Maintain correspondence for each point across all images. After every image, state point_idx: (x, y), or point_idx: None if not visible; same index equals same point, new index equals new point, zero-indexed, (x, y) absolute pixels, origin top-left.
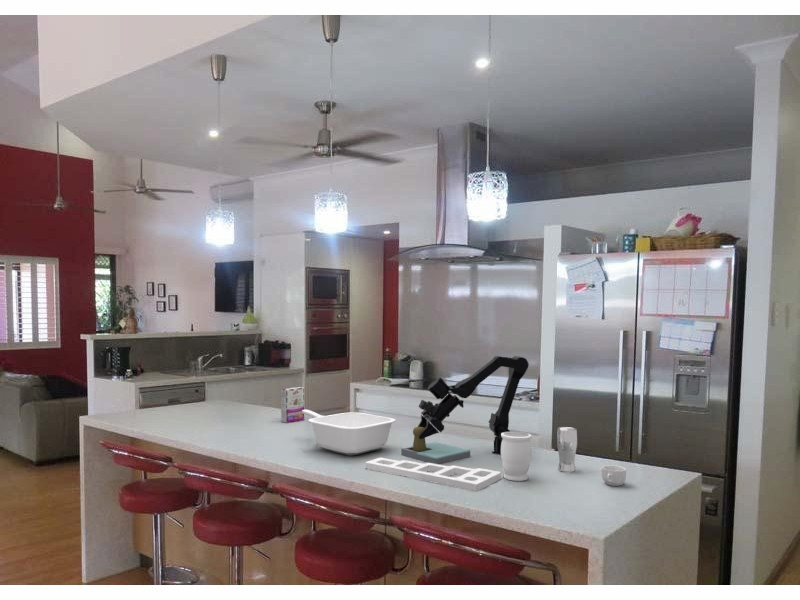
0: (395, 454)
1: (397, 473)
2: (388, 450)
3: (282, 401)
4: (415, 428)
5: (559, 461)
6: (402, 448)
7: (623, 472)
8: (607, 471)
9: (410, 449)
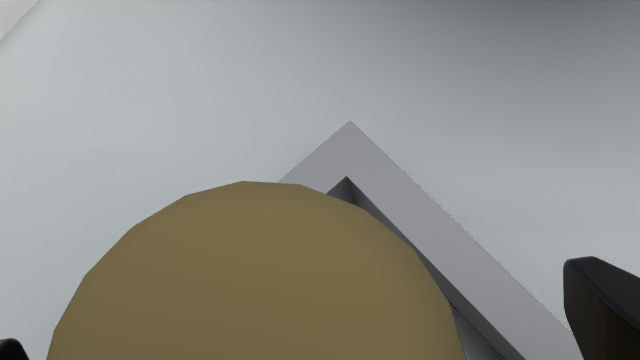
0: (388, 92)
1: None
2: (583, 9)
3: None
4: (153, 229)
5: None
6: (358, 134)
7: None
8: None
9: (415, 250)
